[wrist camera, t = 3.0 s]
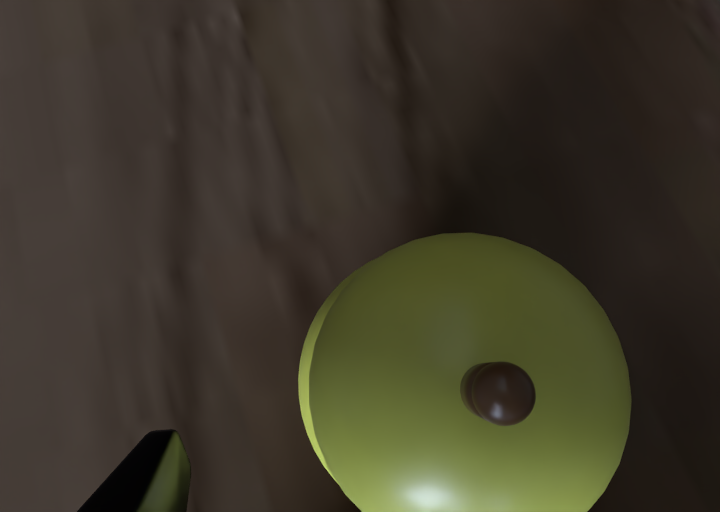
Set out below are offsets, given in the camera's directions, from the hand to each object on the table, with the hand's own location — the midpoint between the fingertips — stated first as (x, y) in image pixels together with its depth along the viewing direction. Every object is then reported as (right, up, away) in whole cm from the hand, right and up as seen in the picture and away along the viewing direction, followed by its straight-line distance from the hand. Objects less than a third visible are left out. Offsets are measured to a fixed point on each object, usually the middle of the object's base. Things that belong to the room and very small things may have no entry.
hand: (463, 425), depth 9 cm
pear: (0, -1, +8) cm, 9 cm away
